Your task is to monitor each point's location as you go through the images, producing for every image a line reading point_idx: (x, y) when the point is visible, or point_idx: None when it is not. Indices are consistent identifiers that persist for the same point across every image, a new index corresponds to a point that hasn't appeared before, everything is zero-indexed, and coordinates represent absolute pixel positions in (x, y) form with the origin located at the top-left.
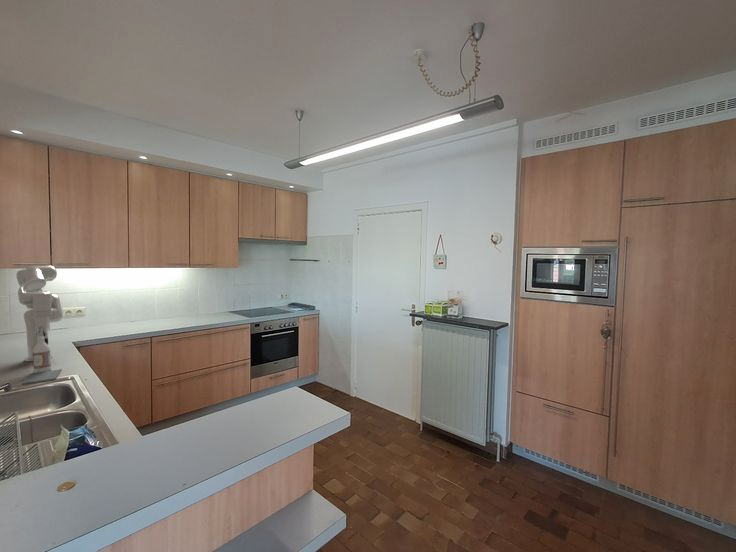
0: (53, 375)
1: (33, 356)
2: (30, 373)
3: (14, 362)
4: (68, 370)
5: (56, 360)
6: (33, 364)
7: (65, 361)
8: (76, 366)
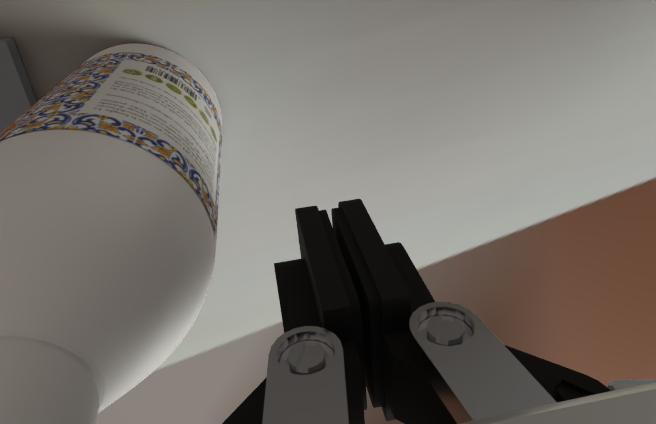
0: None
1: (12, 123)
2: (4, 43)
3: None
4: None
5: (568, 114)
6: (77, 71)
7: (463, 206)
8: (208, 339)
